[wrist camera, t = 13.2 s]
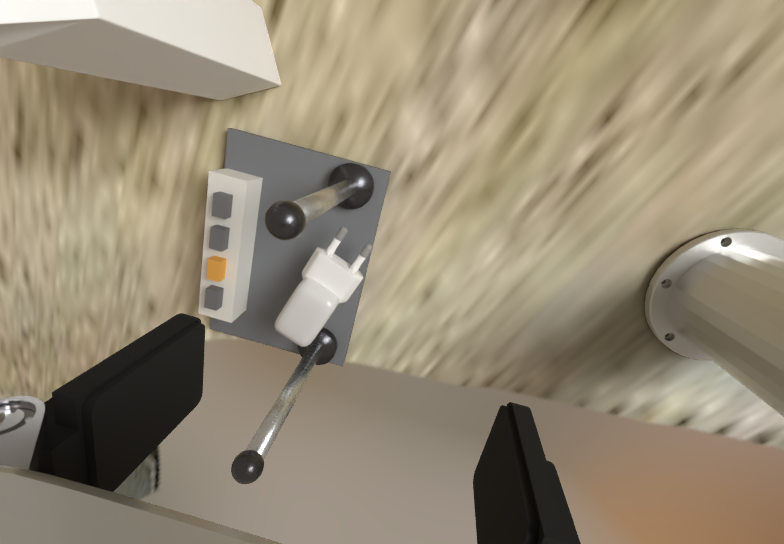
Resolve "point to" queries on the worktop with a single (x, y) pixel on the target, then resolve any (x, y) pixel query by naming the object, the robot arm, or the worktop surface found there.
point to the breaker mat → (268, 254)
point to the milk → (146, 42)
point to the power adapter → (320, 292)
